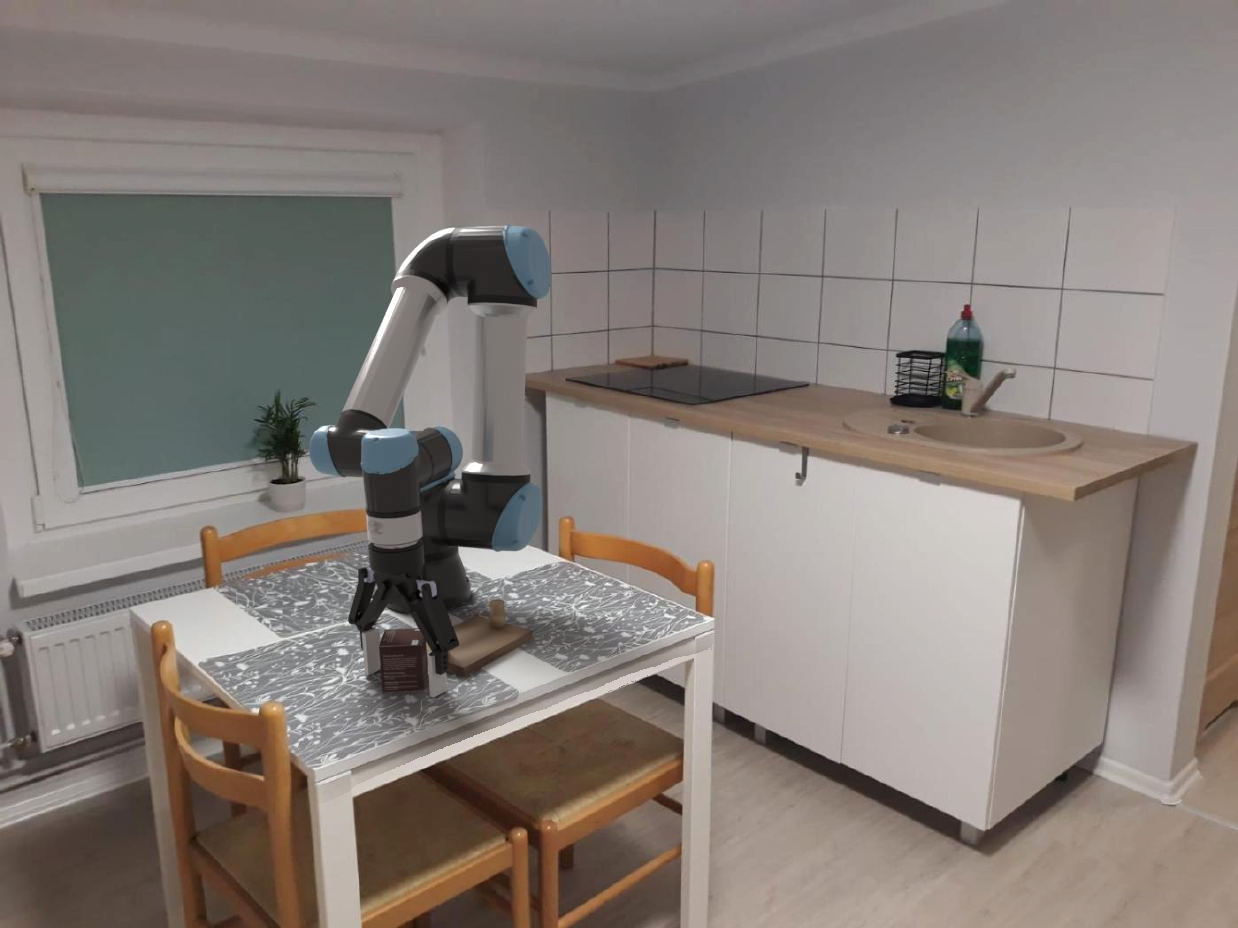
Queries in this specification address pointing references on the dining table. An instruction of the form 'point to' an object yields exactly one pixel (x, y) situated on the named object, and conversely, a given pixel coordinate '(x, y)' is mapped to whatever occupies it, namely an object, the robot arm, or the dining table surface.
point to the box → (403, 660)
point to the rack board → (484, 640)
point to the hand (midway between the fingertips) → (405, 682)
